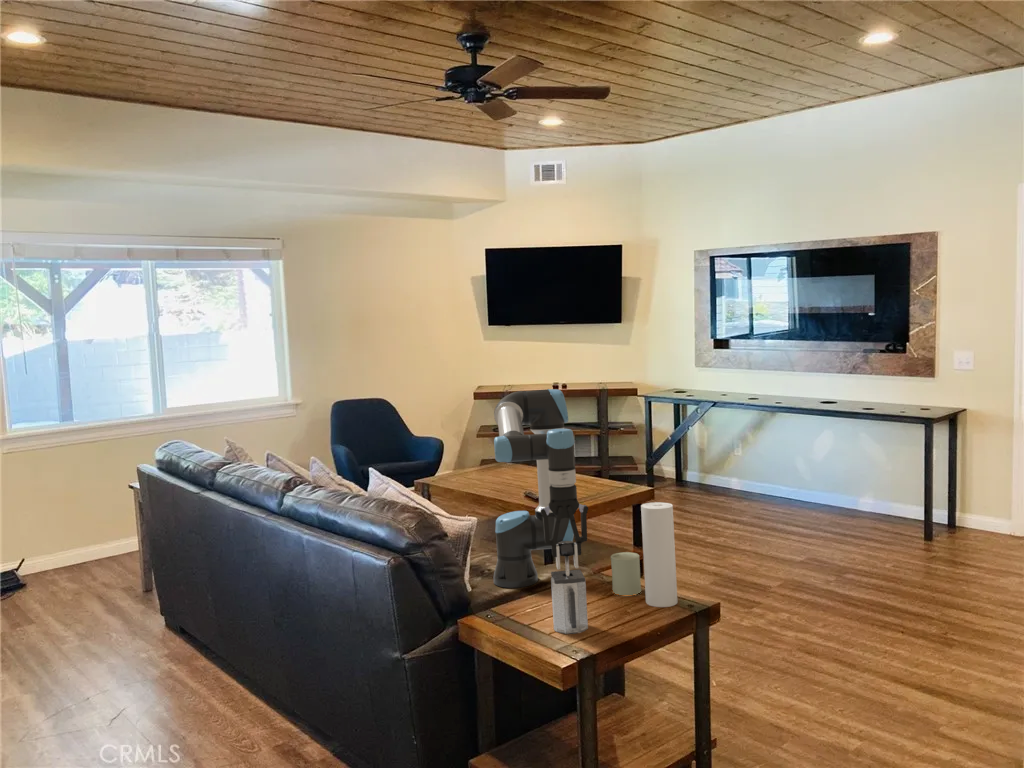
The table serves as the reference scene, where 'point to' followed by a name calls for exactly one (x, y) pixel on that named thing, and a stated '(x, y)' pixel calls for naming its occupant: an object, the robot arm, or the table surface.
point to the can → (626, 573)
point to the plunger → (566, 552)
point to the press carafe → (569, 602)
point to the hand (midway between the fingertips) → (567, 567)
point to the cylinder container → (659, 554)
